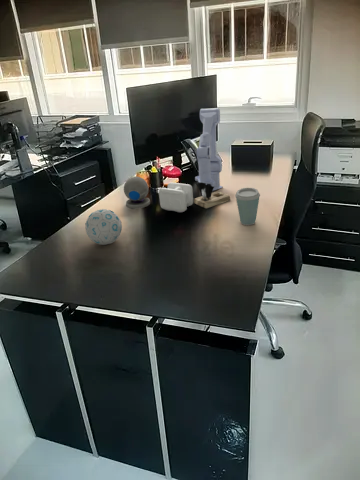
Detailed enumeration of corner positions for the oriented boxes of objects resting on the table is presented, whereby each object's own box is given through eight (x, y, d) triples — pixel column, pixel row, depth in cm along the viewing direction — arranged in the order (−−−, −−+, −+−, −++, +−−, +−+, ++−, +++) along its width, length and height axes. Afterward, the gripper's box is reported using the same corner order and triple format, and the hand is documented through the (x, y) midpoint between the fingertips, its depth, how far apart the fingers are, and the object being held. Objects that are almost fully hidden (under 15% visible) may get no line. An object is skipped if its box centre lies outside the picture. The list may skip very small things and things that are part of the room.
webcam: (152, 199, 199) (148, 172, 192) (148, 208, 187) (144, 180, 181) (129, 200, 200) (125, 173, 193) (123, 209, 189) (119, 181, 182)
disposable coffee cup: (259, 227, 157) (260, 195, 150) (234, 227, 160) (234, 195, 153) (259, 217, 167) (260, 186, 160) (235, 217, 169) (235, 187, 162)
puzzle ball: (90, 253, 148) (82, 220, 141) (88, 238, 161) (81, 207, 154) (126, 246, 151) (121, 213, 144) (121, 232, 164) (116, 201, 157)
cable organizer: (195, 206, 185) (194, 184, 179) (184, 214, 177) (183, 191, 172) (170, 202, 192) (168, 181, 187) (159, 209, 184) (157, 188, 179)
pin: (202, 203, 187) (200, 189, 183) (207, 201, 188) (205, 187, 184) (205, 205, 185) (203, 191, 181) (210, 203, 186) (208, 188, 182)
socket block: (194, 203, 189) (194, 198, 187) (217, 195, 196) (217, 190, 195) (206, 208, 181) (206, 203, 180) (230, 200, 189) (230, 195, 188)
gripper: (189, 169, 182) (191, 195, 188) (207, 175, 171) (208, 202, 178) (200, 166, 186) (201, 191, 192) (218, 172, 175) (219, 198, 181)
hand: (205, 196), depth 185 cm, fingers open, 4 cm apart
